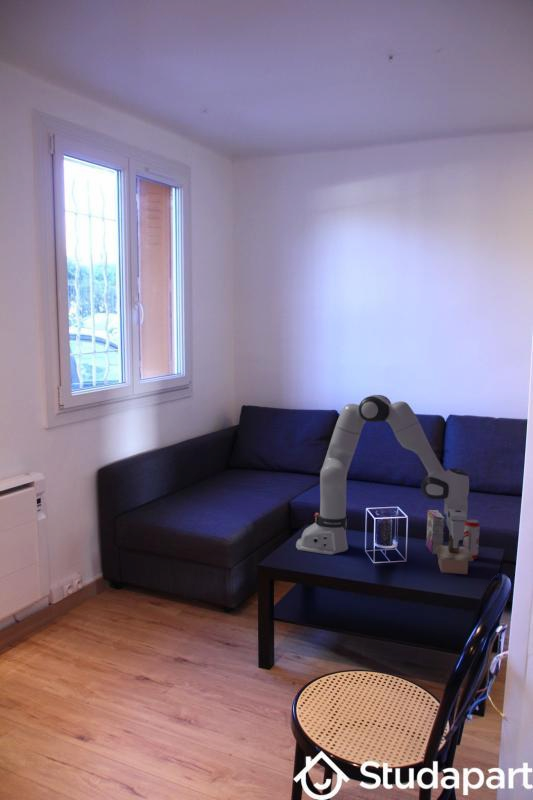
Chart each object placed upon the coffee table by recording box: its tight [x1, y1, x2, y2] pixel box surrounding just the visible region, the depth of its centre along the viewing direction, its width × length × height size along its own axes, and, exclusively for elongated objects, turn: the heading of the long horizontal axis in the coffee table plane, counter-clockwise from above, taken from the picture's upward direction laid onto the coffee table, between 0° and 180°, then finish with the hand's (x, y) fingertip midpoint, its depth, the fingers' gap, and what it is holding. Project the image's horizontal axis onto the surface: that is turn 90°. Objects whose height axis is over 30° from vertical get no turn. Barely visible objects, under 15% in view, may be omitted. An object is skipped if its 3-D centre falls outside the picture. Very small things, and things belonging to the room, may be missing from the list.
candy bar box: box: [425, 509, 446, 556], centre depth 271 cm, size 11×5×16 cm, turn 179°
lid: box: [435, 539, 474, 562], centre depth 251 cm, size 13×13×5 cm
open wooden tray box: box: [437, 559, 469, 575], centre depth 252 cm, size 10×10×6 cm
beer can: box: [462, 518, 481, 561], centre depth 263 cm, size 6×6×16 cm
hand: (453, 543), depth 251 cm, fingers open, 8 cm apart
